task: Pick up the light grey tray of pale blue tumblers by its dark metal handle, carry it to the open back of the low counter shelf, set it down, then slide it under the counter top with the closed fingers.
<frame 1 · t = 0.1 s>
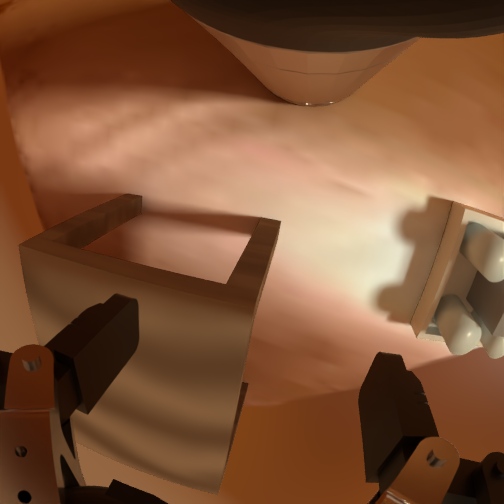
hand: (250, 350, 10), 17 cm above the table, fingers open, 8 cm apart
counter shelf: (189, 306, 31), on the table
tray: (474, 276, 25), on the table
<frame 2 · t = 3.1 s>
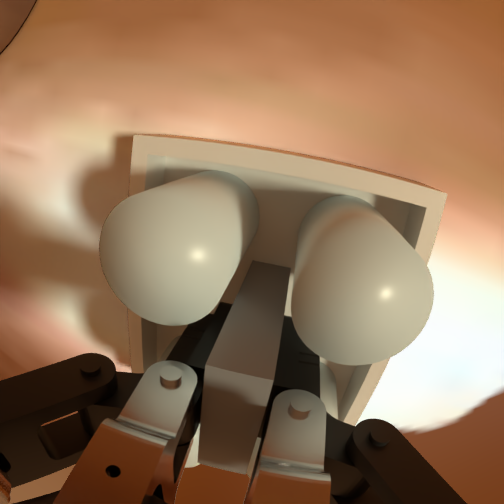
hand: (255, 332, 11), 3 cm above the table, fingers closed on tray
tray: (265, 299, 13), on the table, touching gripper
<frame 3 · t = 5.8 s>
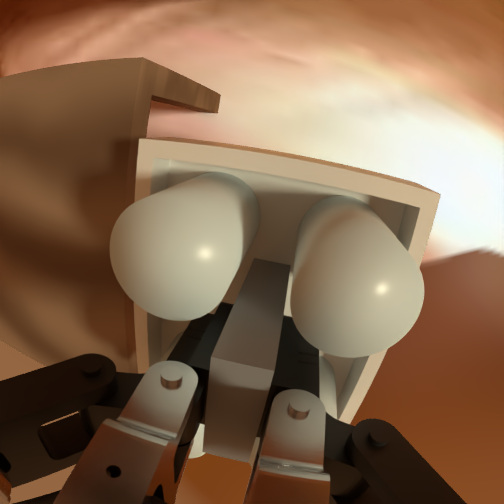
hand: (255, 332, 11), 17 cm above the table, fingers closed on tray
counter shelf: (133, 198, 28), on the table
tray: (266, 295, 14), point 14 cm above the table, touching gripper
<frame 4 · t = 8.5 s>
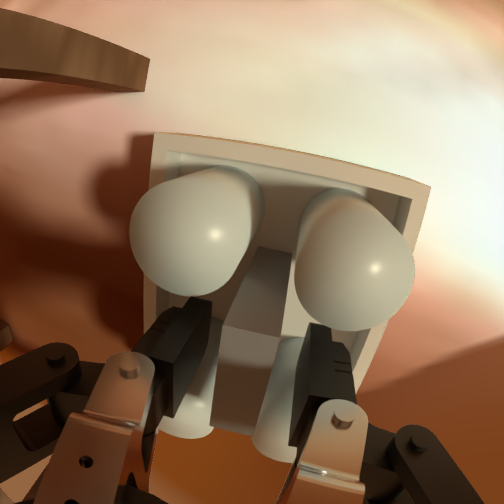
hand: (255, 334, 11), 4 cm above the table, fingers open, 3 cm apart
counter shelf: (37, 237, 16), on the table
tray: (269, 283, 15), on the table
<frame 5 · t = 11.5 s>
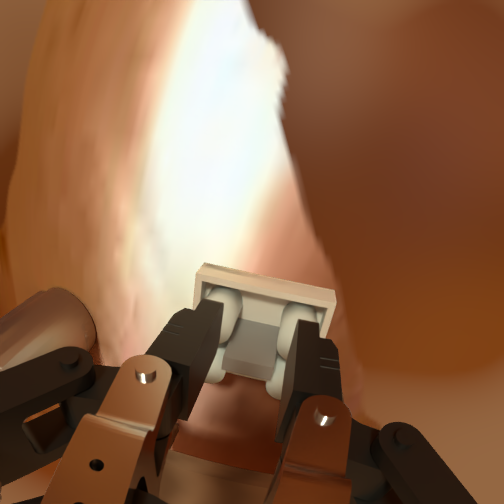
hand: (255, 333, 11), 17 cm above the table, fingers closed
counter shelf: (244, 416, 35), on the table
tray: (259, 323, 31), on the table
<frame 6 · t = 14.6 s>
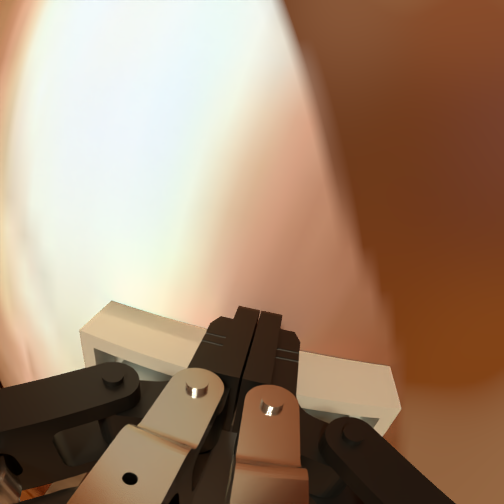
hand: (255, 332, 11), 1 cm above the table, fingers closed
tray: (230, 417, 14), on the table, touching gripper
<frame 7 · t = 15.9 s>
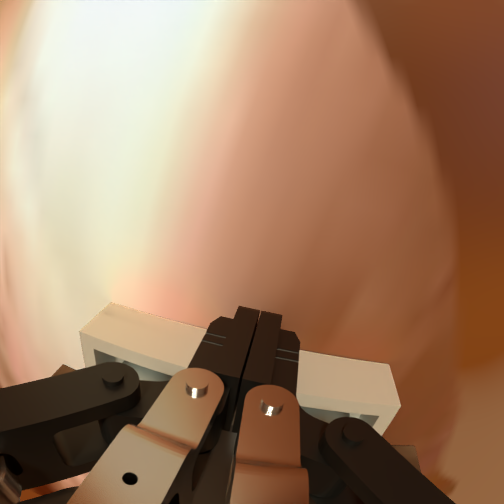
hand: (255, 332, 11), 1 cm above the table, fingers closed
counter shelf: (219, 483, 17), on the table
tray: (230, 418, 14), on the table, touching gripper
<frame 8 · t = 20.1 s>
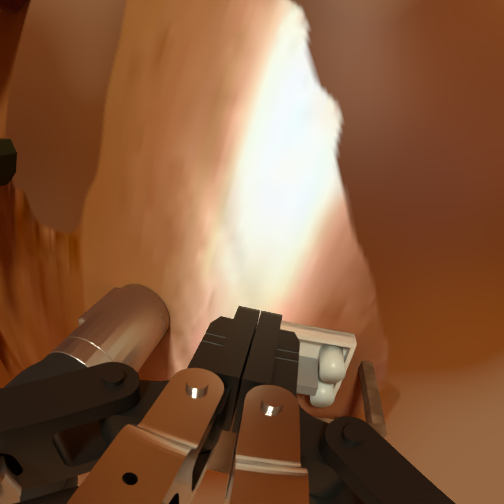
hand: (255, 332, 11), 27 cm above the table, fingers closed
counter shelf: (293, 386, 45), on the table
wine bottle: (4, 160, 41), on the table
tray: (302, 355, 43), on the table
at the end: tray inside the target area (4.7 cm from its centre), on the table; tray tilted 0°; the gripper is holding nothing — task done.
